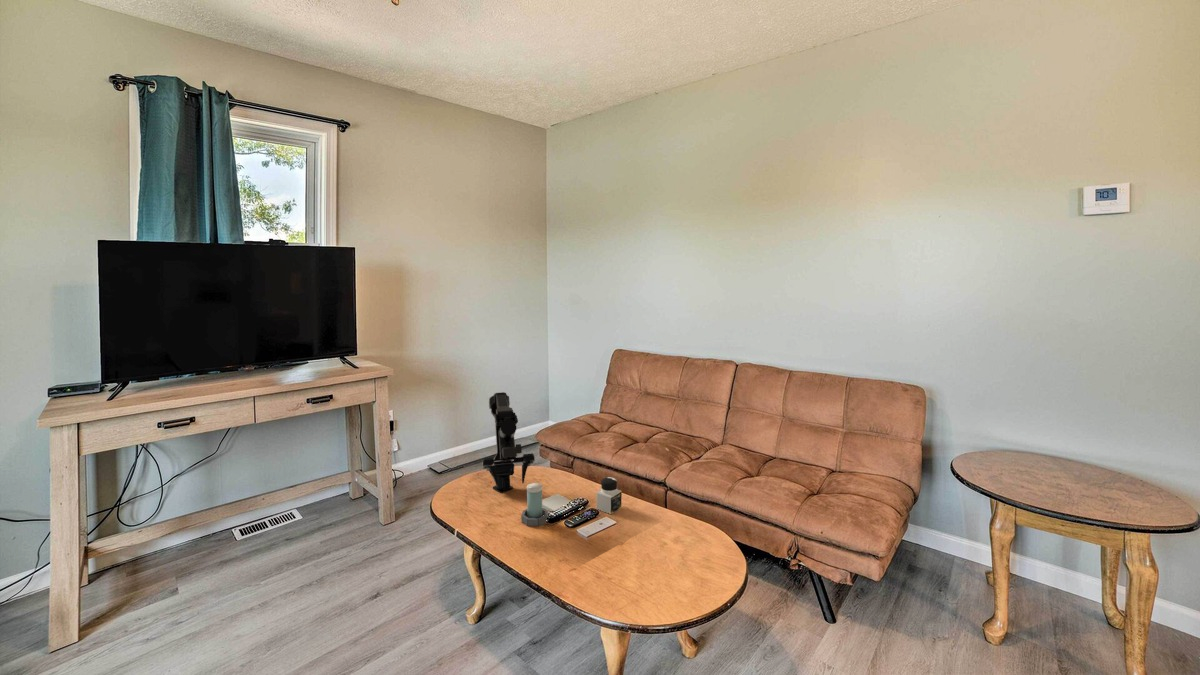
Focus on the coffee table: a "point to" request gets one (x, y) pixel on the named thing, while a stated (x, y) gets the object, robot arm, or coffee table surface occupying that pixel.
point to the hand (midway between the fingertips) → (510, 484)
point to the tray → (555, 502)
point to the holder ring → (534, 521)
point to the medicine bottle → (609, 496)
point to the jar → (534, 500)
